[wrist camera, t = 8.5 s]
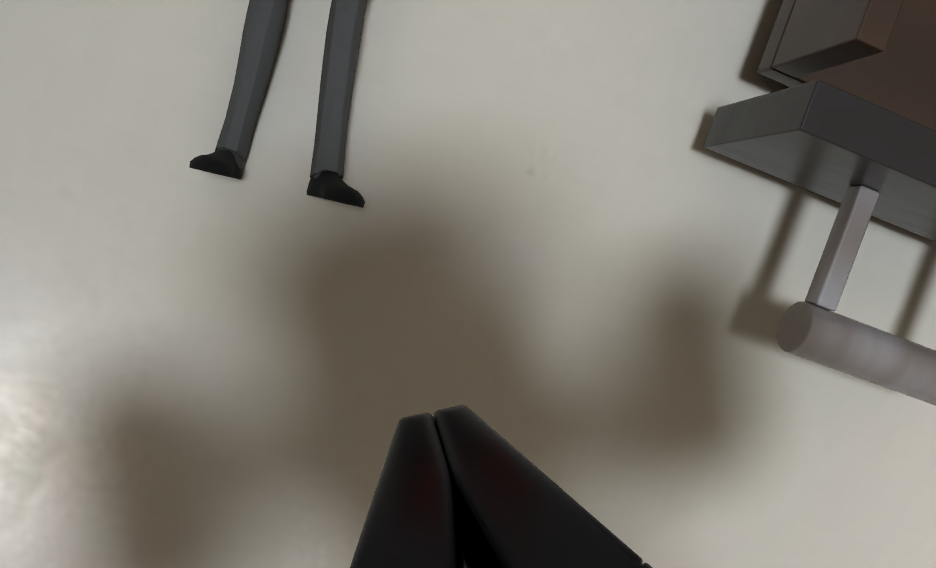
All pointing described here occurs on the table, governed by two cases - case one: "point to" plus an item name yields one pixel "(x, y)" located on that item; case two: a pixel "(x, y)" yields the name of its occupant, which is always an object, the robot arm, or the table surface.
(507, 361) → the table surface
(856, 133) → the drawer
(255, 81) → the person figure
